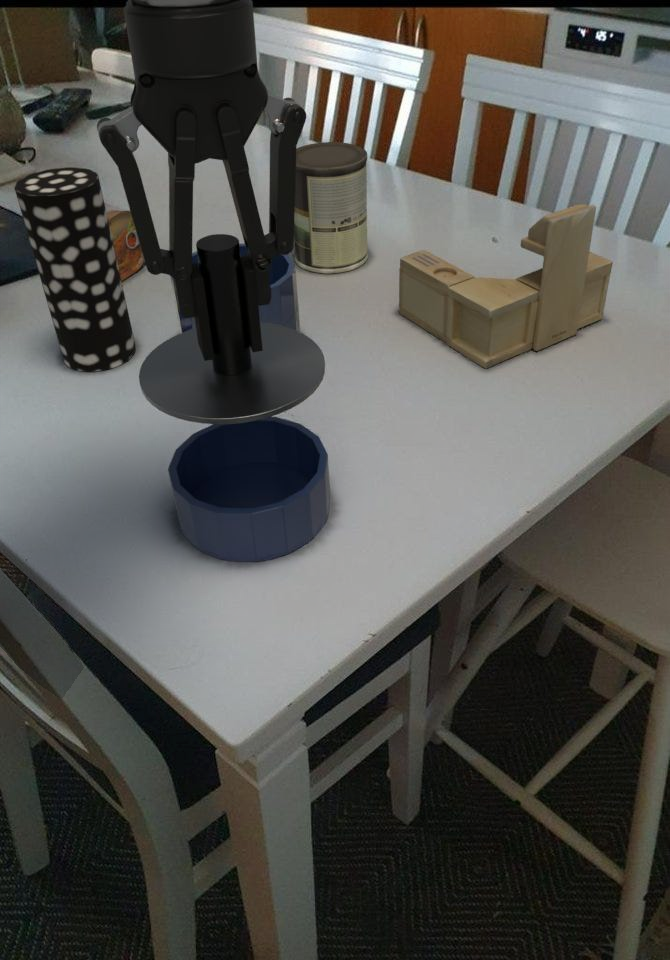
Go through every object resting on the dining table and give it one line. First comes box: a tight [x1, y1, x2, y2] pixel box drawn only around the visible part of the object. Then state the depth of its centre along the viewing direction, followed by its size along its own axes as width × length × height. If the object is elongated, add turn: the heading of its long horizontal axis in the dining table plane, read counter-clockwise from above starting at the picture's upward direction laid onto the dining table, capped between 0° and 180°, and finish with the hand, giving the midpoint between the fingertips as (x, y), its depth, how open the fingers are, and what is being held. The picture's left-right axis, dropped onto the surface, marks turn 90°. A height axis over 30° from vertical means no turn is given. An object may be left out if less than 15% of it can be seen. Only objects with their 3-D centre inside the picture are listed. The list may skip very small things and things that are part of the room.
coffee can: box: [294, 141, 369, 275], centre depth 108 cm, size 10×10×14 cm
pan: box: [167, 416, 331, 563], centre depth 71 cm, size 13×13×5 cm
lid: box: [138, 233, 326, 425], centre depth 60 cm, size 14×14×11 cm
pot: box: [169, 242, 301, 334], centre depth 91 cm, size 13×13×10 cm
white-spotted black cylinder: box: [13, 166, 137, 373], centre depth 88 cm, size 8×8×20 cm
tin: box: [106, 209, 145, 283], centre depth 107 cm, size 15×3×8 cm, turn 153°
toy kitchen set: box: [398, 203, 614, 369], centre depth 93 cm, size 18×17×15 cm
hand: (230, 346), depth 62 cm, fingers closed on lid, 3 cm apart
